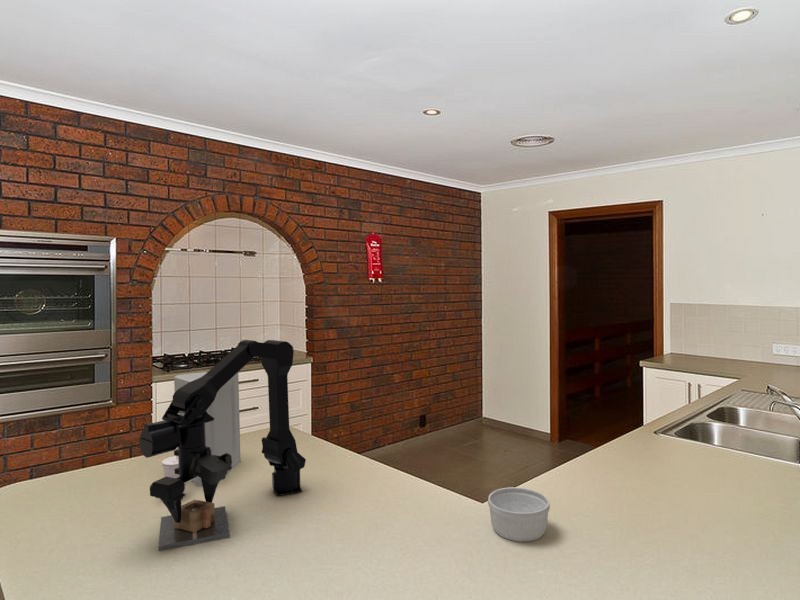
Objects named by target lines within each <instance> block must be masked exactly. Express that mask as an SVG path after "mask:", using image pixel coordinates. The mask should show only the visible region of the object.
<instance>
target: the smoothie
mask: <svg viewBox="0 0 800 600" xmlns="http://www.w3.org/2000/svg"><path fill="white" fill-rule="evenodd" d="M177 449H178V447H177V448H176V449H175V450H177ZM161 467H162V468H163V472H164V477H171V478H178V477H180V476H179V474H175V469H176V468H178V467H179V461H178V456H175V455H173V456H170V457H167V458H164V459H163V460H162V461H161ZM185 491H186V489H185V490H184V492H183V494H186V493H185Z"/></svg>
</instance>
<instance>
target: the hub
mask: <svg viewBox="0 0 800 600" xmlns="http://www.w3.org/2000/svg"><path fill="white" fill-rule="evenodd" d="M196 509H198V508H197V507H194V508H191V509H189V510H196ZM158 536H159V538H158V547H157V549H158V551H159V552H160V551H166V550H169V549H175V548H179V547H180V548H181V547H186V546H192V545H197V544H201V543H207V542H212V541H216V540H217V539H218V540H222V539H221V538H223V539H227V537H228V538H230V537H231V535H230V526H229V520H228V515H227V510H226V506H225V505H224V506H219V507H215V521H214V522H212V523H211V526H210V527H208V528H202V529H200V530H198V531H196V532H191V531H186V530H182V529H177V528H174V519H173V517H172V515H171V514H170V515H165V516H161V517H160V526H159V535H158Z"/></svg>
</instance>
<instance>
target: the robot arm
mask: <svg viewBox="0 0 800 600" xmlns="http://www.w3.org/2000/svg"><path fill="white" fill-rule="evenodd" d="M294 355H295V354H294V347H293V345H292V344H291V343H290V342H288V341H283V340H275V339H267V340H265V341H264V342H260V341H259V342H258V341H257V340H251V339H242V340H241V341H239V342H238V344H237V346H236V347H234V348H233V349H232V350H231V351H230V352H229V353H228V354H227V355H225V356H224V357H223V358H222V359H220V360H219V361H218V362H217V363H216V364H215V365H214V366H213V367H212V368H210V369H209V370H208V371H206V372H207V373H206V374H205V375H204V376H202V377H200V378H198V379H196V380H193V381H191V382H189V383H187V384H186V385H184V386H183V387H181V388H179V389H178V390H177V391H176V392H175V391H174V393H173V394H172V401H171V402H170V404H169V406H168V407H167V409H166V411H165V412H164V414H163V416H162V417H161V421H160V420H159V421H156V422H148V423H147V422H146V423H145V424H144V425H143V430H142V431H141V433H140V436H139V438H138V444H139V449H140V452H141V453H142V455H143V456H144V457H145V458H151V457H155V456H159V455H163V454H166V453H168V452H172V451H173V456H178V461H179V467H178V468H176V469H175V474H179V476H180V477H178V478H171V477H165V476H164V477H161V478H160V479H158V480H156V481H153V482H152V483H151V484H150V486H149V497H154V498H155V499H160V500H161V501H162V503H163V504H164V506H165V508H166V509H167V510H168V512H169V513H170V516H171V515H172V517H173V519H174V520H175V522H176V523H180V522H181V506H182V500H183V499H184V498H185V496H186V493H185V494H183V492H184V490H185V491H186V484H188V483H191V482H190V481H192V480H194V479H196V478H198V477H200V478H201V481H202V486H201V487H202V491H203V497H204V500H205V502H210V503H213V500H214V497H215V494H216V490H217V488H218V485H219V483H220V482H221V481H222V480H223V481H224V480H225V479H226V476H227V475H228V474H227V471H229V470H231V469H232V466H231V465H232V458H231V455H230V454H228V453H225V454H223V455H221V456H217V455H212V454H211V449H210V447H206V437H205V423H206V422H210V421H213V420H214V417H212V416H210V415H209V414H208V413H207V411H206V410H207V409H208V408H209V407H210V405H211V404H212V403H213V402H214V400H215V397H216V394H217V392H218V391H219V390H220V388H221V387H223V386H224V385H225V384H226V383H227V382H228V381H229V380H230V379H231V378H232V377H233V376H234V375H235V374H237V373H238V374H239V372H240V371H241V370H242V369H243V368H244V367H246V366H247V365H248V364H249V363H250V361H252V360H253V359H254V358H256V357H257V358H260V361H261V365H262V368H263V369H264V371H265V373H266V375H267V391H268V392H267V393H268V413H269V414H268V415H269V431H268V433H267V435H266V436H264V437H261V445H262V448H261V449H262V450H261V454H263V456H264V459H266V460H267V461H268V464H269V466H271V467H273V471H272V473H271V484H272V486H271V487H272V490H273V492H275V494H276V496H277V497H278V496H284V495H291V494H295V493H301V492H303V490H302V487H301V469H304V468H305V465H306V462H307V459H306V458H305V457H304V456H303V455H302V454H300V453H299V452H298V447H297V442H296V438H295V437H294V435H293V433H292V432H291V429H290V413H289V412H290V409H289V407H290V406H289V386H288V385H289V384H288V381H289V380H288V378H289V377H288V374H289V372H290V370H291V368H292V367H293V363H294ZM179 412H180V413H184V416H181V415H178V413H179ZM177 447H178V449H177V450H176V448H177ZM231 471H232V470H231ZM226 474H227V475H226ZM220 480H221V481H220ZM219 481H220V482H219ZM218 482H219V483H218Z"/></svg>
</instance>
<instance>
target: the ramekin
mask: <svg viewBox="0 0 800 600" xmlns="http://www.w3.org/2000/svg"><path fill="white" fill-rule="evenodd" d="M487 499H488V500H487V505H488V507H489V515H490V516H489V517H490V522H491V526H492V528H493V530H494V531H495V533H497V535H499V536H501V538H503V539H505V540H506V539H507V540H509V541H512V542H513V541H514V542H521V543H526V542H534V541H536V540H539V539H540V538H541V537H542V536H543V535H544V534H545V532H547V531H546V530H547V525H548V520H549V519H548V518H549V512H550V510H551V509H550V508H551V506H550V505H551V504H550V500H549V498H548V497H547V496H545V495H544V494H543V493H541V492H539V491H537V490H533V489H531V488H527V487H525V488H524V487H519V486H518V487H516V486H515V487H509V486H508V487H503V488H498V489H496V490H493V491H491V493H489V495H488V497H487Z"/></svg>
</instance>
